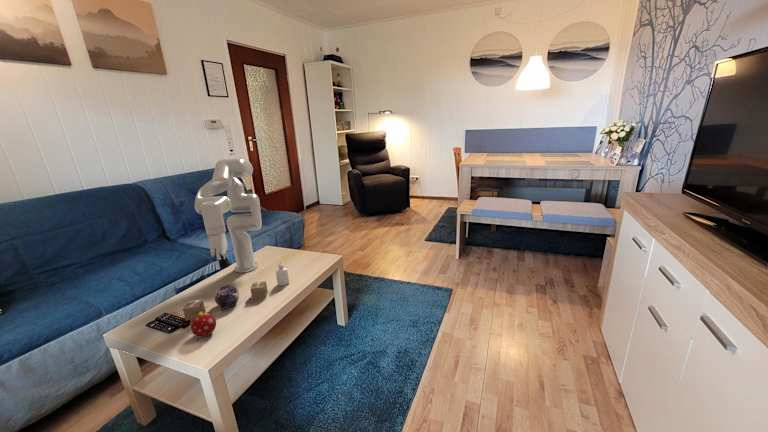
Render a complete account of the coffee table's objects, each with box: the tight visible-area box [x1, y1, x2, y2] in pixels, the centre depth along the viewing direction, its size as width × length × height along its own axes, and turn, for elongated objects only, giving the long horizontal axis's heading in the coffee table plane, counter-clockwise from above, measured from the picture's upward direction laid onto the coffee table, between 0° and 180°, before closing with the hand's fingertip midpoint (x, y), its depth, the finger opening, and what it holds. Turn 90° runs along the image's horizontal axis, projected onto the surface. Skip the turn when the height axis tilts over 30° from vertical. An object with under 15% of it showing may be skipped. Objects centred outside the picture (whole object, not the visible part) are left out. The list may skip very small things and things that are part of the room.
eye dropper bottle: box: [275, 261, 290, 287], centre depth 156 cm, size 4×6×12 cm
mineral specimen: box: [214, 283, 240, 310], centre depth 140 cm, size 10×10×10 cm
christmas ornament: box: [190, 312, 217, 338], centre depth 120 cm, size 9×9×10 cm
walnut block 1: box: [250, 280, 268, 301], centre depth 147 cm, size 6×6×6 cm
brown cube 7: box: [182, 298, 207, 322], centre depth 133 cm, size 6×6×6 cm
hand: (224, 266), depth 141 cm, fingers closed
